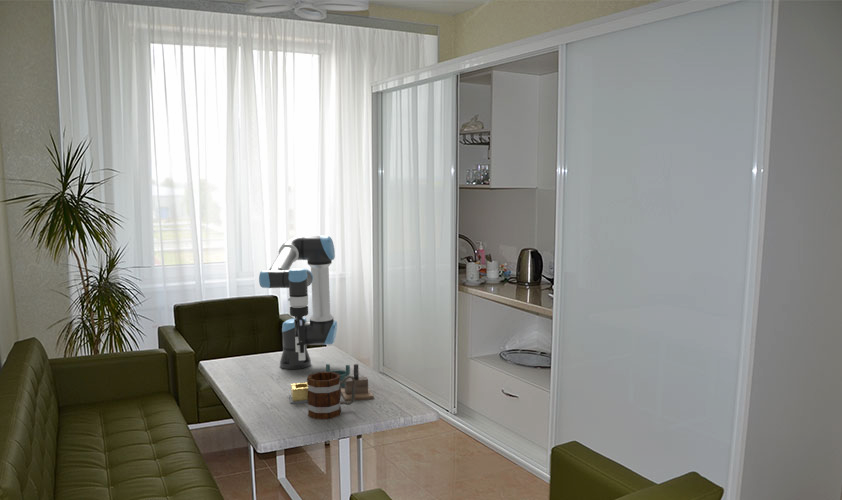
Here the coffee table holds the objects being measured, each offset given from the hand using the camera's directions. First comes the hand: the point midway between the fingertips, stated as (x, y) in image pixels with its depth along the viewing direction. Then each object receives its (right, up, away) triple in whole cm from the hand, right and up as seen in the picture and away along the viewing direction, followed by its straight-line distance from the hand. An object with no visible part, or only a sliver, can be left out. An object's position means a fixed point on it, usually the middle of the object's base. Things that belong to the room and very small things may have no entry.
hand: (300, 355), depth 276 cm
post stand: (+23, -18, +6) cm, 30 cm away
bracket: (+13, -16, +22) cm, 30 cm away
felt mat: (0, -18, +2) cm, 18 cm away
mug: (+15, -20, -15) cm, 29 cm away
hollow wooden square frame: (0, -18, +2) cm, 18 cm away
